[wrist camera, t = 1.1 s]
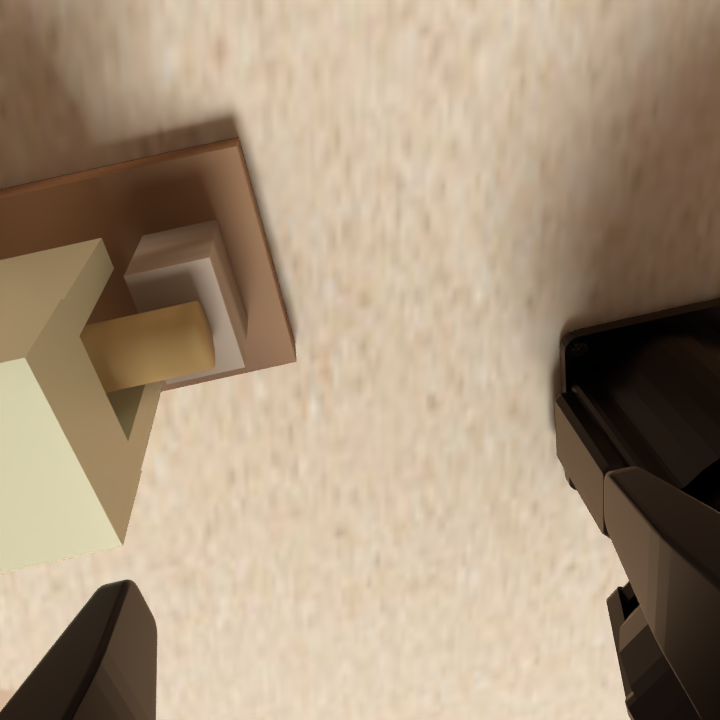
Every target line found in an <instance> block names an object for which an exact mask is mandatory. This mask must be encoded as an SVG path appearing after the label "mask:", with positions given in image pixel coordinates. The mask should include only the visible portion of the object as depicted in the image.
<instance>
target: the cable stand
mask: <svg viewBox="0 0 720 720" xmlns="http://www.w3.org/2000/svg"><path fill="white" fill-rule="evenodd" d="M98 238H102V240H103V243H104V245H105V247H106V250H107V252H108V255H109V257H110V260H111V262H112V265H113V267H114V270H113V272H112V273H111V275H110V277H109V279H108V281H107V283H106V285H105V287H104V289H103V291H102V293H101V295H100V297H99V299H98V301H97V303H96V305H95V307H94V309H93V311H92V313H91V314H90V316H89V318H88V320H87V322H86V324H85V326H84V328H83V330H82V332H81V334H80V339H81V341H82V343H83V345H84V347H85V349H86V352H87V354H88V356H89V358H90V360H91V362H92V365H93V367H94V369H95V371H96V373H97V376H98V378H99V380H100V382H101V384H102V386H103V389H104V391H105V393H108V392H112V391H117V390H121V389H126V388H130V387H135V386H139V385H144V384H148V383H153V382H157V381H160V383H161V385H162V389H161V391H166V390H170V389H175V388H179V387H184V386H188V385H193V384H197V383H202V382H206V381H211V380H215V379H220V378H224V377H229V376H233V375H238V374H243V373H247V372H252V371H256V370H261V369H265V368H270V367H274V366H279V365H283V364H288V363H292V362H296V348H295V342H294V339H293V335H292V331H291V328H290V324H289V320H288V317H287V313H286V310H285V306H284V302H283V299H282V295H281V291H280V288H279V284H278V280H277V277H276V273H275V269H274V266H273V262H272V258H271V255H270V251H269V247H268V244H267V240H266V236H265V233H264V229H263V225H262V222H261V218H260V214H259V211H258V207H257V204H256V200H255V196H254V193H253V189H252V185H251V182H250V178H249V174H248V171H247V167H246V163H245V160H244V156H243V152H242V149H241V145H240V141H239V138H238V137H237V138H233V139H228V140H224V141H219V142H215V143H210V144H205V145H201V146H196V147H192V148H187V149H183V150H178V151H174V152H169V153H165V154H160V155H156V156H151V157H146V158H142V159H137V160H133V161H128V162H124V163H119V164H115V165H110V166H106V167H101V168H97V169H92V170H87V171H83V172H78V173H74V174H69V175H65V176H60V177H56V178H51V179H47V180H42V181H38V182H33V183H28V184H24V185H19V186H15V187H10V188H6V189H1V190H0V260H3V259H8V258H12V257H17V256H21V255H26V254H30V253H35V252H39V251H44V250H48V249H53V248H58V247H62V246H67V245H71V244H76V243H80V242H85V241H89V240H94V239H98Z"/></svg>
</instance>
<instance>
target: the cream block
mask: <svg viewBox="0 0 720 720" xmlns="http://www.w3.org/2000/svg"><path fill="white" fill-rule="evenodd" d="M113 270H114V267H113V265H112V262H111V260H110V257H109V255H108V252H107V250H106V247H105V245H104V243H103V240H102V238H98V239H94V240H89V241H85V242H80V243H76V244H71V245H67V246H62V247H58V248H53V249H48V250H44V251H39V252H35V253H30V254H26V255H21V256H17V257H12V258H8V259H3V260H0V574H1V573H6V572H10V571H15V570H19V569H24V568H28V567H33V566H37V565H42V564H46V563H51V562H55V561H60V560H64V559H69V558H73V557H78V556H82V555H87V554H91V553H96V552H100V551H105V550H109V549H114V548H118V547H123V543H124V539H125V535H126V531H127V527H128V523H129V520H130V516H131V512H132V508H133V504H134V500H135V496H136V492H137V488H138V484H139V480H140V476H141V472H142V471H141V467H142V463H143V460H144V456H145V452H146V448H147V444H148V440H149V436H150V432H151V428H152V424H153V420H154V416H155V413H156V409H157V405H158V401H159V397H160V393H161V389H162V385H161V383H160V381H157V382H153V383H148V384H144V385H139V386H135V387H130V388H126V389H121V390H117V391H112V392H108V393H105V391H104V389H103V386H102V384H101V382H100V380H99V378H98V376H97V373H96V371H95V369H94V367H93V365H92V362H91V360H90V358H89V356H88V354H87V352H86V349H85V347H84V345H83V343H82V341H81V339H80V334H81V332H82V330H83V328H84V326H85V324H86V322H87V320H88V318H89V316H90V314H91V313H92V311H93V309H94V307H95V305H96V303H97V301H98V299H99V297H100V295H101V293H102V291H103V289H104V287H105V285H106V283H107V281H108V279H109V277H110V275H111V273H112V272H113Z"/></svg>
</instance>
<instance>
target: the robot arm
mask: <svg viewBox="0 0 720 720" xmlns="http://www.w3.org/2000/svg"><path fill="white" fill-rule="evenodd" d="M578 343H583V344H582V346H581V347H580V348H579V349H578V350H575V351H572V349H573V347H574V346H575V345H576V344H578ZM560 360H561V385H562V393H559V394H558V396H557V397H556V399H555V401H554V405H555V426H556V447H557V456H558V458H559V460H560V462H561V464H562V465H563V467H564V469H565V476H566V479H567V481H568V483H569V485H570V486H571V487H572V488H573V489H575V490H577V491H578V493H579V494H580V496H581V498H582V500H583V501H584V503H585V505H586V506H587V508H588V510H589V512H590V513H591V515H592V517H593V518H594V520H595V522H596V524H597V525H598V527H599V529H600V530H601V532H602V534H604V535H605V536H607V537H608V538H610V539H611V540H612V543H613V545H614V547H615V549H616V552H617V554H618V556H619V558H620V561H621V563H622V565H623V568H624V570H625V572H626V574H627V577H628V579H629V582H628V583H627V584H626V585H625V586H624V587H618V588H617V589H616V590H615V591H614V592H613V593H612V594H611V595H610V596H609V597H608V599H607V606H608V611H609V616H610V621H611V626H612V631H613V636H614V641H615V646H616V651H617V656H618V661H619V666H620V671H621V676H622V681H623V686H624V691H625V696H626V700H625V703H626V707H627V712H628V715H629V717H630V719H631V720H720V298H719V299H714V300H710V301H705V302H701V303H696V304H692V305H687V306H683V307H678V308H674V309H669V310H665V311H660V312H655V313H651V314H646V315H642V316H637V317H633V318H628V319H624V320H619V321H615V322H610V323H606V324H601V325H597V326H592V327H588V328H583V329H579V330H574V331H572V332H569V333H568V334H567V335H566V336H564V338H563V339H562V341H561V344H560ZM156 678H157V627H156V623H155V619H154V617H153V615H152V613H151V611H150V609H149V607H148V605H147V603H146V602H145V600H144V598H143V596H142V594H141V592H140V590H139V588H138V586H137V585H136V584H135V583H134V582H133V581H132V580H123V581H118V582H114V583H109V584H105V585H103V586H101V587H100V588H99V589H98V590H97V591H96V592H95V593H94V594H93V595H92V597H91V598H90V599H89V601H88V602H87V603H86V604H85V606H84V607H83V608H82V609H81V611H80V612H79V613H78V614H77V616H76V617H75V618H74V619H73V621H72V622H71V623H70V625H69V626H68V627H67V628H66V630H65V631H64V632H63V633H62V635H61V636H60V637H59V638H58V640H57V641H56V642H55V643H54V645H53V646H52V647H51V648H50V650H49V651H48V652H47V654H46V655H45V656H44V657H43V659H42V660H41V661H40V662H39V664H38V665H37V666H36V667H35V669H34V670H33V671H32V672H31V674H30V675H29V676H28V677H27V679H26V680H25V681H24V683H23V684H22V685H21V686H20V688H19V689H18V690H17V691H16V693H15V694H14V695H13V696H12V698H11V699H10V700H9V701H8V703H7V704H6V705H5V707H4V708H3V709H2V710H1V712H0V720H156Z"/></svg>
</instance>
